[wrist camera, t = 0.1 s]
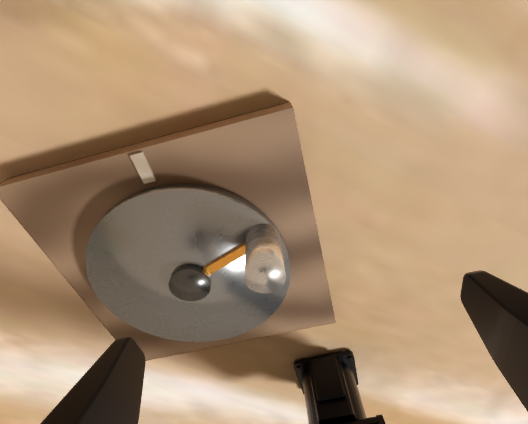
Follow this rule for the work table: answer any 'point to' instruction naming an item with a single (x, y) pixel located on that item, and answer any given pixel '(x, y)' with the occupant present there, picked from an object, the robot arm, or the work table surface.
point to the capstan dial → (188, 263)
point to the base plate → (179, 172)
